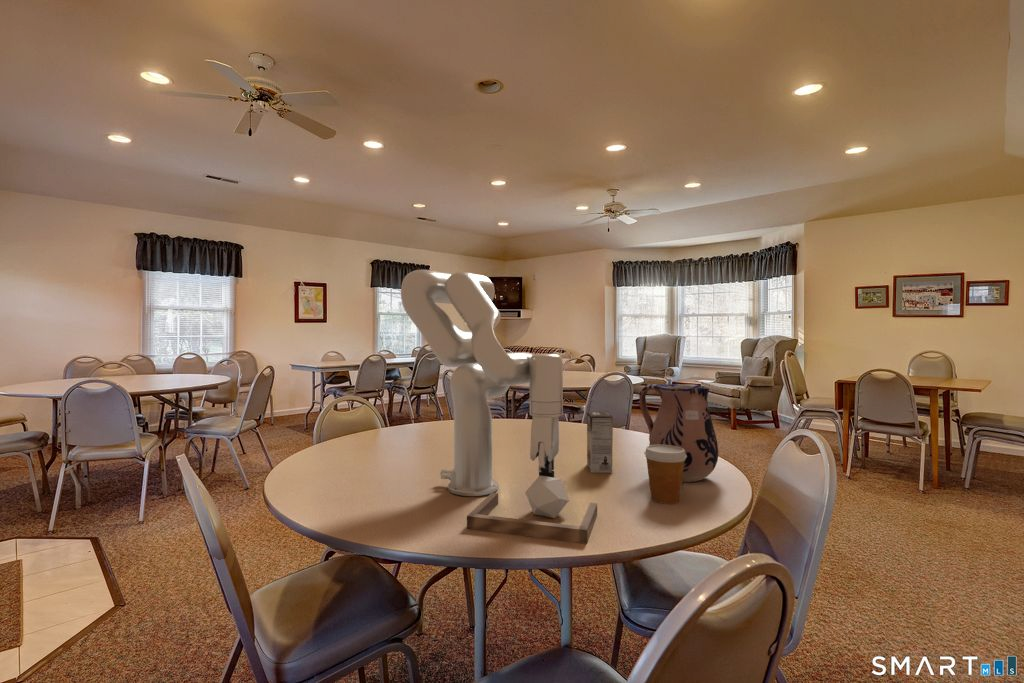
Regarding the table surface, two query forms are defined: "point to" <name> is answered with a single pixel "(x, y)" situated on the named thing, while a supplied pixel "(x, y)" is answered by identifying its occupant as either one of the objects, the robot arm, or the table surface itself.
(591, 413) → the coffee box
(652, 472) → the disposable coffee cup
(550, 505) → the die
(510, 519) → the wooden u-shaped frame
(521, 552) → the table surface
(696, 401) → the ceramic pitcher
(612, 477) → the table surface
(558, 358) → the robot arm
